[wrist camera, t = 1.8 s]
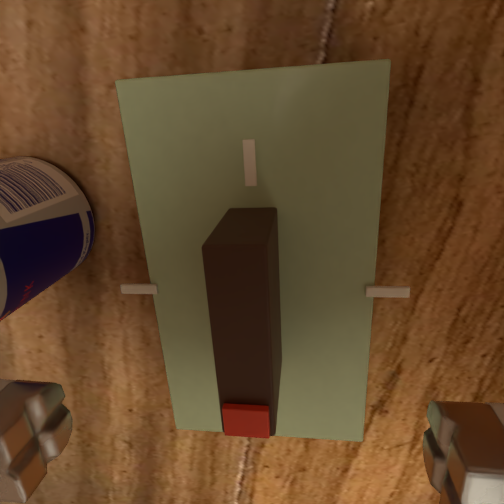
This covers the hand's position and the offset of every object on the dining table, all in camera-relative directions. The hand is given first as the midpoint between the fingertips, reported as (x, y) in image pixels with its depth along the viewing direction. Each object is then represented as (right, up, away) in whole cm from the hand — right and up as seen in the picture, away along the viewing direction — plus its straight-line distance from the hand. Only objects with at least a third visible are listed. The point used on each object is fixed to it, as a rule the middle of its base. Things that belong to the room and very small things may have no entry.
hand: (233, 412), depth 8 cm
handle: (+1, +2, +5) cm, 5 cm away
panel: (+1, +3, +8) cm, 8 cm away
